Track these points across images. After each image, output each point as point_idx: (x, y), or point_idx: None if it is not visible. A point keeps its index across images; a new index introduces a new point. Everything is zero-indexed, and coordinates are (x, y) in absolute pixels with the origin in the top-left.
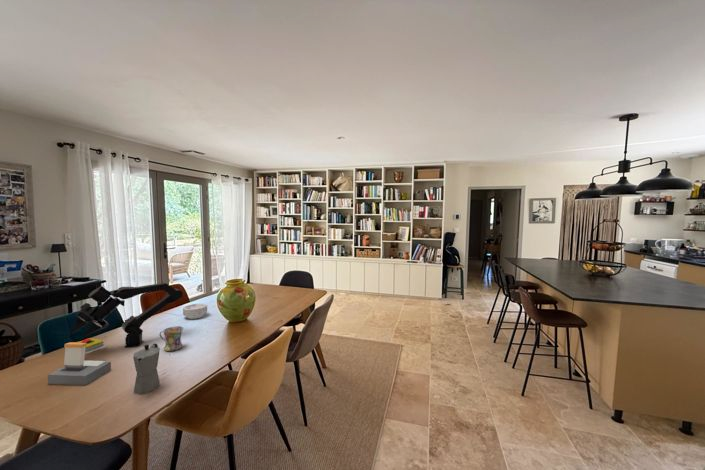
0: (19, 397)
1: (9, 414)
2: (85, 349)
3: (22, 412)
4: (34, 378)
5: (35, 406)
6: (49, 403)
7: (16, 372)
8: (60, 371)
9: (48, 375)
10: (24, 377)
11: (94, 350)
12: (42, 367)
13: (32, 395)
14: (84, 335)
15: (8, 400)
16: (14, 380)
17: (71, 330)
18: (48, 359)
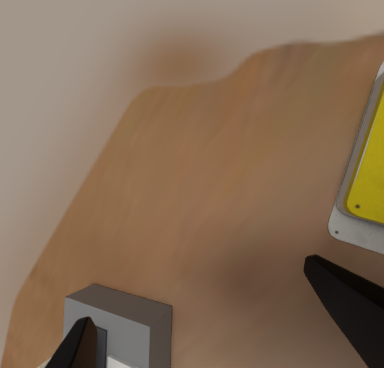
0: (52, 264)
1: (16, 301)
2: (347, 213)
3: (19, 323)
4: (117, 210)
5: (30, 334)
6: (36, 359)
7: (146, 108)
8: None
9: (68, 297)
10: (122, 172)
11: (376, 250)
12: (178, 157)
13: (57, 289)
14: (315, 286)
15: (45, 250)
16: (109, 161)
17: (61, 348)
18: (243, 102)
